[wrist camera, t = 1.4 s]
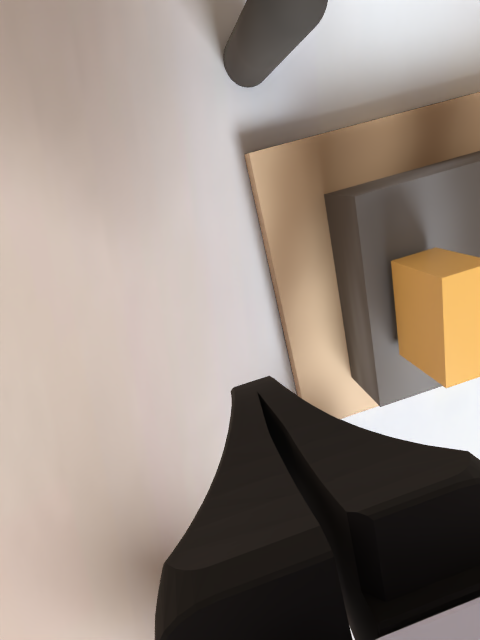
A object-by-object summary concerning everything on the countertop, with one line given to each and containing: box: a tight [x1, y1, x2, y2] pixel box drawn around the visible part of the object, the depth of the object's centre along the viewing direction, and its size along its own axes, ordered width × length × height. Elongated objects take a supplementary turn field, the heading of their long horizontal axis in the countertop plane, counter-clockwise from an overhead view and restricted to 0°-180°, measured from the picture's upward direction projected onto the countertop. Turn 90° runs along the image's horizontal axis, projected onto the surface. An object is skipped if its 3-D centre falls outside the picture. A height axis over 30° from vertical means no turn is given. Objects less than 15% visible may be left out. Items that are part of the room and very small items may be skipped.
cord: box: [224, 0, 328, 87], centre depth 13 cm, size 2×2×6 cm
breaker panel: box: [245, 92, 480, 419], centre depth 18 cm, size 15×15×4 cm
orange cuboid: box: [391, 247, 480, 388], centre depth 15 cm, size 2×4×3 cm, turn 14°
